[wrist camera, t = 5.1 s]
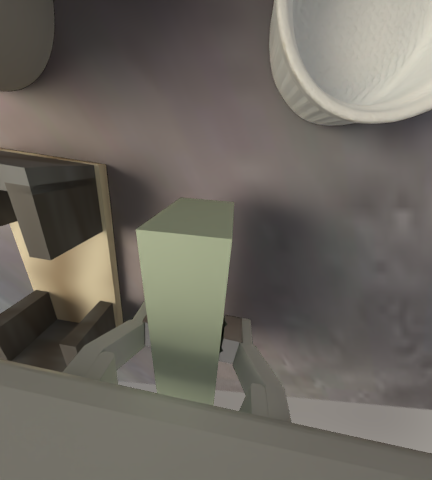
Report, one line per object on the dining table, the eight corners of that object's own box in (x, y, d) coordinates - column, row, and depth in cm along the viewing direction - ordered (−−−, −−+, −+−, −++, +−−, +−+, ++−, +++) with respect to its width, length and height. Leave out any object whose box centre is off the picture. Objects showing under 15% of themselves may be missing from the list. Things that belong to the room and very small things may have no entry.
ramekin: (431, -194, 7) (726, -717, 3) (464, 63, 9) (636, -7, 5) (227, 8, 9) (223, -105, 5) (299, 166, 12) (332, 169, 8)
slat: (234, 202, 10) (232, 239, 5) (217, 353, 15) (209, 435, 11) (180, 197, 10) (135, 229, 6) (183, 348, 16) (161, 426, 11)
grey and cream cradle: (105, 164, 13) (30, 167, 8) (124, 331, 20) (89, 385, 15) (-4, 147, 13) (-143, 140, 8) (53, 319, 20) (-4, 369, 15)
